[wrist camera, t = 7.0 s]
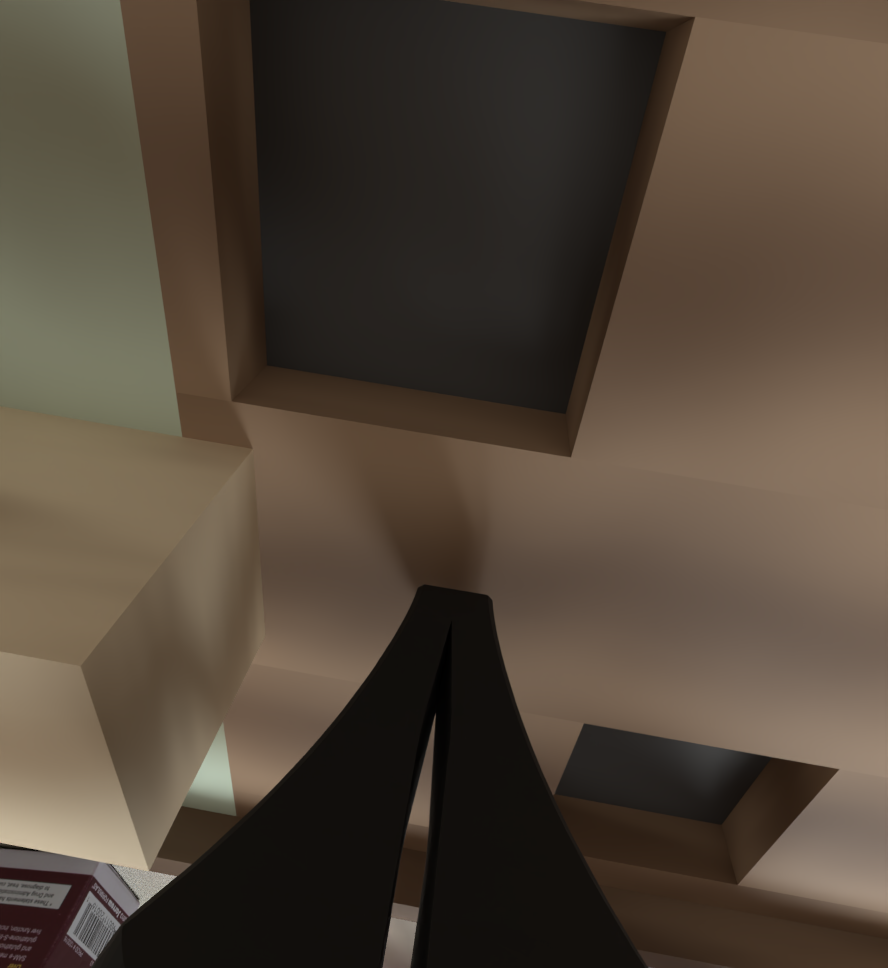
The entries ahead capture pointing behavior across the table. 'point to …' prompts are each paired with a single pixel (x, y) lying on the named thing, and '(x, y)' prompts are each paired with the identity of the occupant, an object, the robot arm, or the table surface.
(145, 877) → the table surface
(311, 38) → the trap box
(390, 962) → the table surface
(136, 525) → the block
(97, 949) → the supplement box
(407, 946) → the table surface
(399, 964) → the table surface
